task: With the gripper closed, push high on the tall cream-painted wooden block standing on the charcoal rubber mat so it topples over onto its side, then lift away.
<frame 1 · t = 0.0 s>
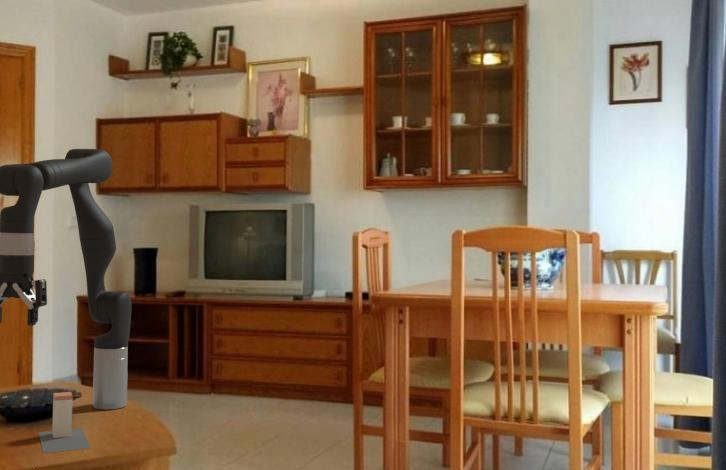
hand: (14, 324, 160), 29 cm above the table, fingers open, 8 cm apart
cream block: (61, 434, 173), resting on slate mat
slate mat: (63, 441, 169), on the table
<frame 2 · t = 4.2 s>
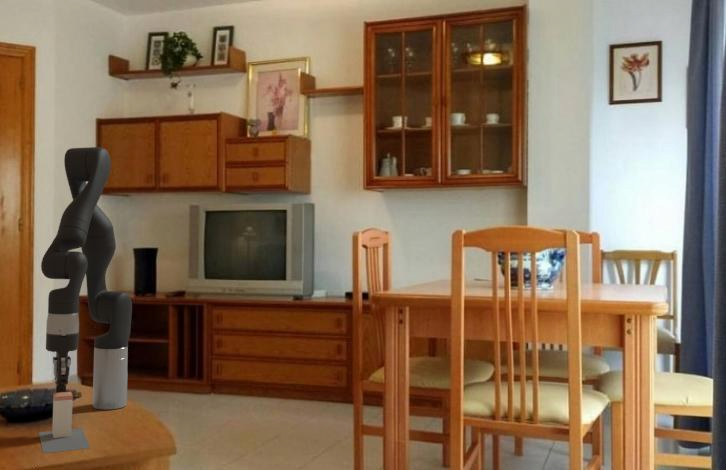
hand: (60, 400, 176), 8 cm above the table, fingers closed
cream block: (61, 434, 173), point 1 cm above the table, touching gripper, slate mat
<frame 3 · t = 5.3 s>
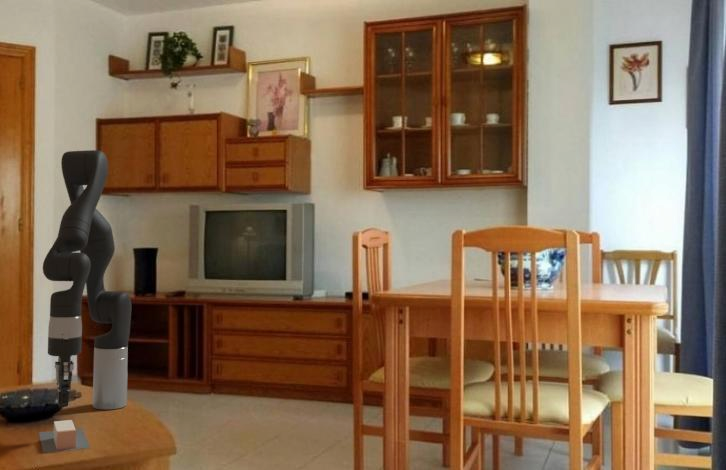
hand: (63, 406, 171), 8 cm above the table, fingers closed
cream block: (62, 428, 171), point 2 cm above the table, tilted 90°, touching slate mat
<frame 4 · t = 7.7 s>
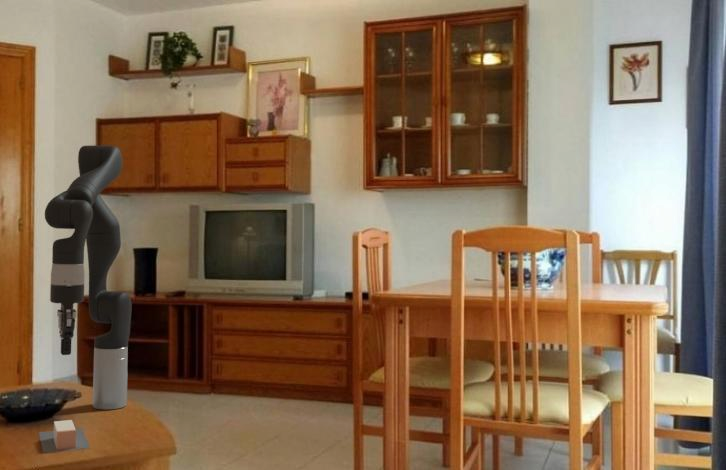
hand: (65, 354, 170), 21 cm above the table, fingers closed
nothing on the table moved.
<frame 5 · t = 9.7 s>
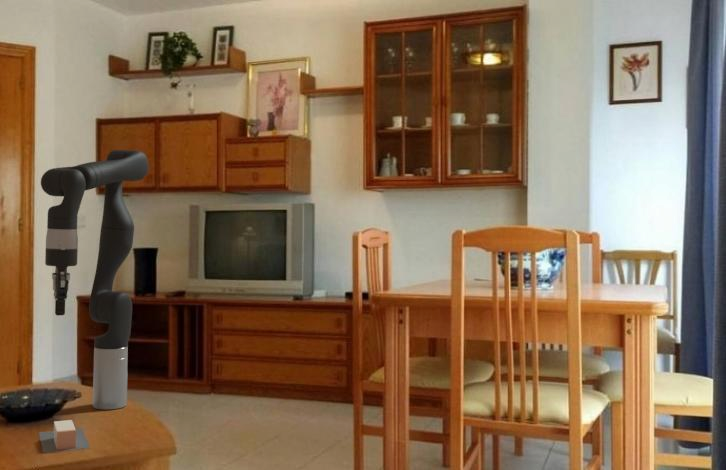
hand: (59, 314, 180), 29 cm above the table, fingers closed
nothing on the table moved.
at the end: cream block tilted 90°; cream block inside the target area on the slate mat (1.3 cm from its centre), point 2.5 cm above the slate mat's base; cream block touching slate mat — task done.
